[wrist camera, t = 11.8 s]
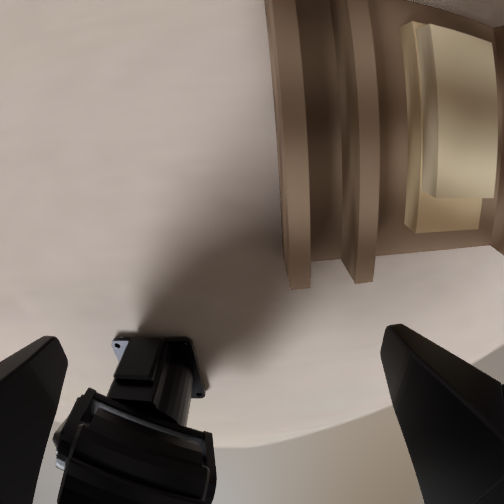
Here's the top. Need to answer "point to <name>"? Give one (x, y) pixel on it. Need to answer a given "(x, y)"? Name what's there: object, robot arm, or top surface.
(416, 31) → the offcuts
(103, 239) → the top surface
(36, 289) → the top surface
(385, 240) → the rack
